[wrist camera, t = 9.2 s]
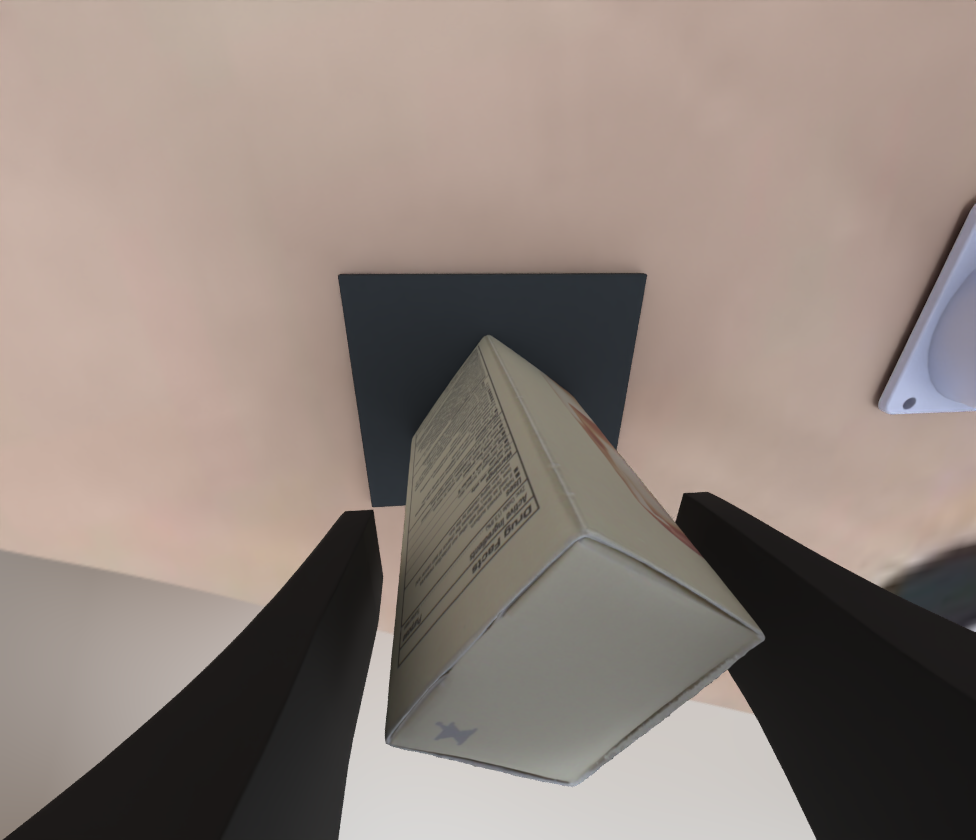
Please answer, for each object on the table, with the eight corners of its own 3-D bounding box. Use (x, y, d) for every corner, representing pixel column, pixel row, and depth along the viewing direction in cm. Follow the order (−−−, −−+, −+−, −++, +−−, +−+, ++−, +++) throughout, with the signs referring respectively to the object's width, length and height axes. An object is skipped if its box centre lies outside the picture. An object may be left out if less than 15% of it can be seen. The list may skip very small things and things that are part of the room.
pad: (643, 273, 14) (647, 274, 14) (606, 490, 18) (609, 494, 18) (339, 274, 13) (337, 275, 13) (373, 502, 17) (372, 507, 17)
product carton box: (499, 488, 17) (566, 799, 8) (407, 437, 15) (361, 750, 6) (583, 392, 15) (787, 646, 6) (490, 325, 14) (583, 531, 5)
